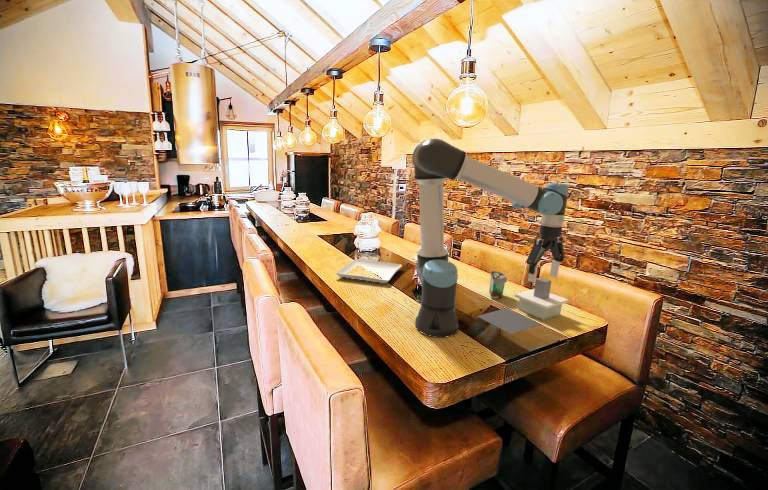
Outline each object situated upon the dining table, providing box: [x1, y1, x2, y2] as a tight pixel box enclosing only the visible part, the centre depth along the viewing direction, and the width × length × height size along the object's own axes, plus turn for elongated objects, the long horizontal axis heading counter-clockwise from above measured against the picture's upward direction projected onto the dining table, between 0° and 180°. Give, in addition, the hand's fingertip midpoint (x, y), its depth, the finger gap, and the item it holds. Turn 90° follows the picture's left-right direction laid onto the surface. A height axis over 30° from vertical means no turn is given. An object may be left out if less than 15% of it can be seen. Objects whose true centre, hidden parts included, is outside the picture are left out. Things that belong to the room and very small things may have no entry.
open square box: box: [518, 298, 563, 321], centre depth 140 cm, size 11×11×6 cm
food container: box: [489, 270, 508, 300], centre depth 155 cm, size 12×6×10 cm, turn 168°
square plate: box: [335, 258, 403, 284], centre depth 181 cm, size 27×27×4 cm
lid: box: [514, 277, 569, 309], centre depth 138 cm, size 14×14×8 cm
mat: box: [476, 307, 541, 335], centre depth 132 cm, size 16×16×1 cm
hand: (542, 279), depth 137 cm, fingers open, 13 cm apart
